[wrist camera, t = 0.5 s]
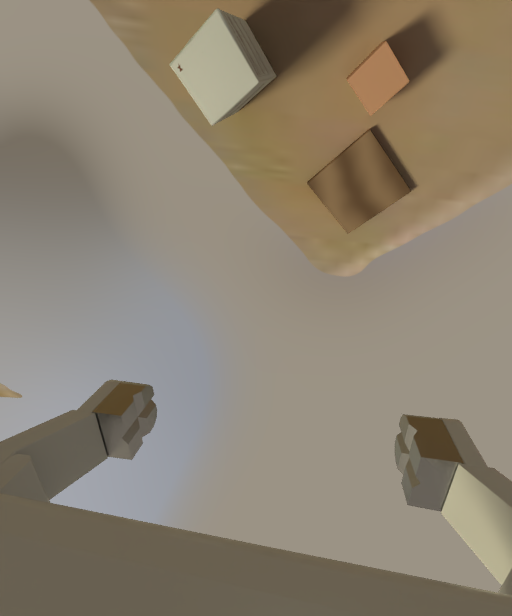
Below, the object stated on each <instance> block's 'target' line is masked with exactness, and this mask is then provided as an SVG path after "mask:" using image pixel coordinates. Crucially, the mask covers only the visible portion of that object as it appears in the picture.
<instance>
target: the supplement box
mask: <svg viewBox="0 0 512 616" xmlns="http://www.w3.org/2000/svg"><path fill="white" fill-rule="evenodd" d="M170 67H171V68H172V69H173V71H174V72H175V73H176V75H177V76H178V78H179V79H180V81H181V82H182V83H183V85H184V86H185V88H186V89H187V90H188V92H189V93H190V95H191V96H192V98H193V99H194V101H195V102H196V104H197V105H198V107H199V108H200V109H201V111H202V112H203V114H204V115H205V117H206V118H207V120H208V121H209V122H210V124H211V125H212V126H213V125H214V124H216V123H218V122H220V121H222V120H223V119H225V118H227V117H229V116H231V115H233V114H235V113H236V112H238V111H239V110H240V109H241V108H242V107H243V106H244V105H245V104H246V103H247V102H249V101H250V100H251V99H252V98H253V97H254V96H255V95H256V94H258V93H259V92H260V91H261V90H262V89H263V88H264V87H265V86H266V85H267V84H269V83H270V82H271V81H272V80H273V79H274V78H276V74H275V73H274V71H273V69H272V67H271V65H270V64H269V62H268V60H267V58H266V56H265V55H264V53H263V51H262V49H261V47H260V46H259V44H258V42H257V40H256V38H255V37H254V35H253V33H252V31H251V29H250V28H249V26H248V24H247V22H246V21H245V20H243V19H241V18H238V17H236V16H234V15H231V14H229V13H226V12H224V11H222V10H220V9H216V10H215V11H214V12H213V13H212V14H211V16H210V17H209V18H208V19H207V20H206V22H205V23H204V24H203V25H202V26H201V28H200V29H199V30H198V31H197V32H196V34H195V35H194V36H193V37H192V38H191V39H190V40H189V42H188V43H187V44H186V45H185V47H184V48H183V49H182V50H181V51H180V53H179V54H178V55H177V56H176V57H175V59H174V60H173V61H172V62H171V63H170Z"/></svg>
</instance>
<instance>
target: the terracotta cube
mask: <svg viewBox="0 0 512 616" xmlns="http://www.w3.org/2000/svg"><path fill="white" fill-rule="evenodd" d="M347 81H348V82H349V84H350V86H351V87H352V89H353V90H354V92H355V93H356V95H357V96H358V98H359V99H360V101H361V102H362V104H363V105H364V107H365V108H366V110H367V111H368V113H369V115H370V116H371V115H372V114H373V113H374V112H376V111H377V110H378V109H379V108H380V107H381V106H382V105H384V104H385V103H386V102H387V101H388V100H389V99H390V98H391V97H393V96H394V95H395V94H396V93H397V92H398V91H399V90H401V89H402V88H403V87H404V86H405V85H406V84H407V83H408V82H410V81H409V79H408V78H407V76H406V74H405V73H404V71H403V69H402V67H401V66H400V64H399V62H398V60H397V59H396V57H395V55H394V53H393V52H392V50H391V48H390V47H389V45H388V43H387V41H384V42H382V43H381V44H380V45H379V46H378V47H377V48H376V49H375V50H374V51H373V52H372V53H371V54H370V55H369V56H368V57H367V58H366V59H365V60H364V61H363V62H362V63H361V64H360V65H359V66H358V67H357V68H356V69H355V70H354V71H353V72H352V73H351V74H350V75H349V76H348V77H347Z"/></svg>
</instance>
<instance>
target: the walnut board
mask: <svg viewBox="0 0 512 616" xmlns="http://www.w3.org/2000/svg"><path fill="white" fill-rule="evenodd" d="M307 184H308V185H309V186H310V188H311V189H312V190H313V191H314V193H315V194H316V195H317V196H318V198H319V199H320V200H321V201H322V203H323V204H324V205H325V206H326V207H327V209H328V210H329V211H330V212H331V214H332V215H333V216H334V217H335V219H336V220H337V221H338V222H339V224H340V225H341V226H342V227H343V229H344V230H345V231H346V232H347V233H350V232H351V231H353V230H354V229H356V228H357V227H359V226H360V225H362V224H363V223H365V222H366V221H368V220H369V219H371V218H372V217H374V216H375V215H377V214H378V213H379V212H381V211H382V210H384V209H385V208H387V207H388V206H390V205H391V204H393V203H394V202H396V201H397V200H399V199H400V198H402V197H403V196H405V195H406V194H408V193H409V192H411V190H410V189H409V187H408V186H407V184H406V183H405V181H404V180H403V178H402V177H401V175H400V174H399V172H398V171H397V169H396V168H395V166H394V165H393V163H392V162H391V160H390V159H389V157H388V156H387V154H386V153H385V151H384V150H383V148H382V147H381V145H380V144H379V142H378V141H377V139H376V138H375V136H374V135H373V133H372V132H371V130H370V129H369V130H367V131H366V132H365V133H364V134H363V135H362V136H360V137H359V138H358V139H357V140H356V141H355V142H353V143H352V144H351V145H350V146H349V147H348V148H346V149H345V150H344V151H343V152H342V153H341V154H339V155H338V156H337V157H336V158H335V159H334V160H332V161H331V162H330V163H329V164H328V165H327V166H325V167H324V168H323V169H322V170H321V171H320V172H318V173H317V174H316V175H315V176H314V177H313V178H311V179H310V180H309V181H308V183H307Z"/></svg>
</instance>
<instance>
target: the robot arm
mask: <svg viewBox="0 0 512 616" xmlns="http://www.w3.org/2000/svg"><path fill="white" fill-rule="evenodd" d="M153 396H154V392H153V387H152V386H150V385H147V384H140V383H132V382H125V381H117V380H109V381H107V382H105V383H104V384H103V385H102V386H101V387H100V388H99V389H98V390H97V391H96V392H95V393H94V394H93V395H92V396H91V397H90V398H89V399H88V400H87V401H86V402H85V403H84V404H83V405H82V406H81V407H80V408H79V409H78V410H71V411H69V412H67V413H64V414H62V415H60V416H58V417H55V418H53V419H51V420H49V421H46V422H44V423H42V424H40V425H37V426H35V427H33V428H30V429H28V430H26V431H24V432H22V433H19V434H17V435H15V436H12V437H10V438H8V439H6V440H3V441H1V442H0V616H512V481H510V480H509V479H508V478H506V477H505V476H504V475H502V474H501V473H499V472H498V471H497V470H496V469H494V468H489V467H487V465H486V463H485V462H484V460H483V458H482V456H481V455H480V453H479V451H478V450H477V448H476V446H475V445H474V443H473V441H472V439H471V438H470V436H469V434H468V433H467V431H466V429H465V427H464V426H463V424H462V422H460V421H459V420H455V419H445V418H439V419H438V418H431V417H422V416H413V415H404V414H403V415H402V417H401V419H400V423H399V426H400V429H401V433H400V434H398V435H397V437H396V441H395V458H396V464H397V468H398V470H399V471H400V472H401V473H402V474H403V479H402V486H403V490H404V493H405V497H406V501H407V504H408V505H411V506H416V507H421V508H426V509H431V510H437V511H442V512H441V514H442V515H443V516H444V517H445V518H446V519H447V521H448V522H449V523H450V524H451V525H452V527H453V528H454V529H455V530H456V531H457V533H458V534H459V535H460V536H461V537H462V539H463V540H464V541H465V542H466V543H467V545H468V546H469V547H470V548H471V549H472V551H473V552H474V553H475V554H476V555H477V557H478V558H479V559H480V560H481V561H482V562H483V564H484V565H485V566H486V567H487V568H488V570H489V571H490V572H491V573H492V574H493V575H494V577H495V578H496V579H497V580H498V582H499V583H500V584H501V585H502V586H501V588H500V590H499V592H498V593H495V592H491V591H486V590H481V589H476V588H471V587H466V586H461V585H456V584H451V583H446V582H441V581H436V580H431V579H426V578H421V577H416V576H412V575H407V574H402V573H396V572H391V571H386V570H381V569H376V568H372V567H367V566H362V565H356V564H352V563H347V562H342V561H337V560H332V559H327V558H321V557H316V556H311V555H306V554H301V553H296V552H291V551H286V550H281V549H276V548H271V547H266V546H261V545H256V544H251V543H246V542H242V541H236V540H231V539H227V538H221V537H217V536H212V535H207V534H202V533H197V532H192V531H187V530H182V529H177V528H172V527H167V526H162V525H158V524H153V523H148V522H143V521H138V520H133V519H127V518H123V517H117V516H113V515H108V514H103V513H98V512H93V511H88V510H83V509H78V508H73V507H68V506H63V505H57V504H53V503H50V501H49V500H50V499H51V498H53V497H54V496H55V495H57V494H58V493H60V492H61V491H62V490H64V489H65V488H67V487H68V486H69V485H71V484H72V483H73V482H75V481H76V480H78V479H79V478H81V477H82V476H83V475H85V474H86V473H88V471H90V470H92V469H93V468H94V467H96V466H97V465H99V464H100V463H101V462H103V461H104V460H105V459H107V457H115V458H123V459H130V460H132V459H133V457H134V456H135V454H136V453H137V451H138V450H139V448H140V447H141V445H142V444H143V442H142V437H143V436H145V435H147V434H148V433H150V431H151V430H152V428H153V427H154V424H155V421H156V417H157V408H156V404H155V403H154V402H153V401H152V400H151V398H152V397H153Z"/></svg>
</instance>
